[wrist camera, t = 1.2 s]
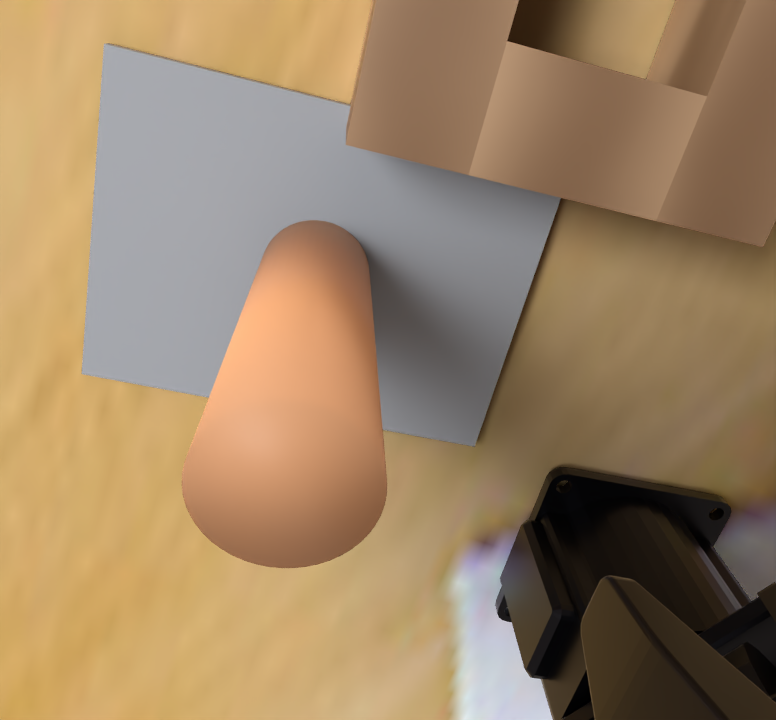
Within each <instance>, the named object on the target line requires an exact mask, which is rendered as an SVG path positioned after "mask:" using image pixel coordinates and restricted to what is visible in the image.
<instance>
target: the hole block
mask: <svg viewBox="0 0 776 720" xmlns="http://www.w3.org/2000/svg"><path fill="white" fill-rule="evenodd" d="M518 2H519V0H372V5H371V10H370V14H369V19H368V24H367V29H366V33H365V38H364V43H363V48H362V52H361V57H360V62H359V67H358V71H357V76H356V81H355V86H354V91H353V95H352V100H351V107H350V111H349V116H348V121H347V126H346V145H348V146H352V147H356V148H360V149H364V150H368V151H372V152H376V153H380V154H384V155H388V156H393V157H397V158H401V159H405V160H409V161H413V162H417V163H421V164H425V165H429V166H433V167H437V168H442V169H446V170H450V171H454V172H458V173H462V174H466V175H470V176H474V177H478V178H482V179H486V180H490V181H495V182H499V183H503V184H507V185H511V186H515V187H519V188H523V189H527V190H531V191H535V192H539V193H543V194H548V195H552V196H556V197H560V198H564V199H568V200H572V201H576V202H580V203H584V204H588V205H592V206H597V207H601V208H605V209H609V210H613V211H617V212H621V213H625V214H629V215H633V216H637V217H641V218H645V219H650V220H654V221H658V222H662V223H666V224H670V225H674V226H678V227H682V228H686V229H690V230H694V231H698V232H703V233H707V234H711V235H715V236H719V237H723V238H727V239H731V240H735V241H739V242H743V243H747V244H752V245H756V246H760V247H763V246H764V244H765V242H766V240H767V238H768V236H769V234H770V232H771V230H772V228H773V226H774V224H775V221H776V0H675V3H674V6H673V8H672V11H671V14H670V16H669V19H668V22H667V24H666V27H665V30H664V32H663V35H662V38H661V41H660V43H659V46H658V49H657V51H656V54H655V57H654V59H653V62H652V65H651V67H650V70H649V73H648V75H647V78H646V79H642V78H639V77H635V76H631V75H628V74H624V73H621V72H617V71H613V70H610V69H606V68H602V67H599V66H595V65H592V64H588V63H584V62H581V61H577V60H574V59H570V58H566V57H563V56H559V55H556V54H552V53H548V52H545V51H541V50H538V49H534V48H530V47H527V46H523V45H520V44H516V43H512V42H509V41H507V40H508V36H509V33H510V30H511V26H512V23H513V19H514V16H515V12H516V9H517V5H518Z"/></svg>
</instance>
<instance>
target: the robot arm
mask: <svg viewBox="0 0 776 720" xmlns="http://www.w3.org/2000/svg"><path fill="white" fill-rule="evenodd" d="M564 480H567V481H568V482H567V483H566V484H565V485H563V486H557V484H558V483H559V482H561V481H564ZM715 508H717V510H716V511H714V512H712V513H710V512H711V511H712V510H713V509H715ZM730 514H731V508H730V506H729V505H728V504H727V503H726V501H725V500H724V499H723V498H722V497H721V496H718V495H714V494H708V493H703V492H697V491H692V490H686V489H681V488H676V487H670V486H665V485H659V484H654V483H649V482H643V481H638V480H632V479H627V478H621V477H616V476H611V475H605V474H600V473H594V472H589V471H583V470H578V469H573V468H567V467H559V468H556V469H554V470H552V471H551V472H550V473H549V474H548V475H547V477H546V479H545V482H544V484H543V487H542V489H541V492H540V494H539V497H538V499H537V501H536V504H535V506H534V509H533V511H532V514H531V516H530V519H529V520H527V521H526V522H525V523H523V524H522V525H521V527H520V530H519V532H518V535H517V537H516V540H515V542H514V545H513V547H512V550H511V552H510V555H509V557H508V560H507V562H506V565H505V567H504V570H503V572H502V575H501V577H500V581H501V584H502V587H501V590H500V592H499V595H498V597H497V600H496V604H495V605H496V609H497V613H498V616H499V618H501V619H502V620H504V621H507V622H512V624H513V628H514V632H515V635H516V639H517V643H518V646H519V650H520V654H521V657H522V661H523V664H524V668H525V670H526V671H527V673H528V674H529V676H530V677H532V678H539V679H541V681H542V684H543V688H544V691H545V695H546V698H547V701H548V705H549V708H550V711H551V715H552V718H553V720H776V583H775V582H774V583H773V584H771V585H770V586H768V587H766V588H765V589H763V590H761V591H760V592H758V593H757V594H758V596H759V597H758V598H756V599H755V600H753V601H751V600H750V599H749V597H748V596H747V594H746V593H745V592H744V590H743V589H742V587H741V586H740V584H739V583H738V582H737V580H736V579H735V577H734V576H733V574H732V573H731V572H730V570H729V569H728V567H727V566H726V565H725V563H724V562H723V560H722V559H721V557H720V556H719V555H718V553H717V552H716V550H715V549H714V547H713V546H714V544H715V542H716V541H717V539H718V537H719V535H720V533H721V532H722V530H723V528H724V526H725V524H726V523H727V521H728V519H729V517H730ZM507 607H508V608H507Z"/></svg>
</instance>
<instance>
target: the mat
mask: <svg viewBox="0 0 776 720" xmlns="http://www.w3.org/2000/svg"><path fill="white" fill-rule="evenodd" d="M350 107H351V105H350V104H346V103H342V102H338V101H334V100H330V99H326V98H322V97H318V96H314V95H310V94H306V93H302V92H298V91H295V90H291V89H287V88H283V87H279V86H275V85H271V84H267V83H263V82H259V81H255V80H251V79H247V78H243V77H239V76H236V75H232V74H228V73H224V72H220V71H216V70H212V69H208V68H204V67H200V66H196V65H192V64H188V63H184V62H180V61H176V60H173V59H169V58H165V57H161V56H157V55H153V54H149V53H145V52H141V51H137V50H133V49H129V48H125V47H121V46H117V45H114V44H110V43H108V44H104V53H103V67H102V82H101V97H100V112H99V127H98V141H97V156H96V171H95V186H94V200H93V215H92V230H91V245H90V260H89V274H88V289H87V304H86V319H85V334H84V348H83V363H82V374H84V375H90V376H95V377H101V378H106V379H111V380H117V381H122V382H128V383H133V384H138V385H144V386H149V387H155V388H160V389H165V390H171V391H176V392H182V393H187V394H192V395H198V396H203V397H209V396H210V393H211V391H212V388H213V386H214V383H215V380H216V378H217V375H218V372H219V370H220V367H221V365H222V362H223V359H224V357H225V354H226V351H227V349H228V346H229V344H230V341H231V338H232V336H233V333H234V330H235V328H236V325H237V323H238V320H239V317H240V315H241V312H242V309H243V307H244V304H245V302H246V299H247V296H248V294H249V291H250V288H251V286H252V283H253V281H254V278H255V275H256V273H257V270H258V267H259V265H260V262H261V259H262V257H263V254H264V252H265V249H266V248H267V246H268V244H269V242H270V241H271V240H272V239H273V237H274V236H275V235H277V234H278V233H279V232H280V231H281V230H283V229H284V228H286V227H288V226H290V225H292V224H295V223H297V222H301V221H308V220H320V221H326V222H330V223H333V224H335V225H338V226H340V227H342V228H343V229H345V230H347V231H348V232H349V233H350V234H352V235H353V236H354V237H355V238H356V239H357V241H358V242H359V243H360V245H361V246H362V248H363V250H364V252H365V254H366V257H367V260H368V264H369V272H370V284H371V296H372V308H373V320H374V332H375V344H376V356H377V368H378V380H379V392H380V404H381V416H382V428H383V430H387V431H392V432H398V433H403V434H408V435H414V436H419V437H425V438H430V439H435V440H441V441H446V442H452V443H457V444H462V445H468V446H473V447H475V444H476V441H477V438H478V435H479V432H480V429H481V427H482V424H483V421H484V418H485V415H486V412H487V409H488V406H489V404H490V401H491V398H492V395H493V392H494V389H495V386H496V383H497V381H498V378H499V375H500V372H501V369H502V366H503V363H504V360H505V358H506V355H507V352H508V349H509V346H510V343H511V340H512V337H513V335H514V332H515V329H516V326H517V323H518V320H519V317H520V314H521V312H522V309H523V306H524V303H525V300H526V297H527V294H528V291H529V289H530V286H531V283H532V280H533V277H534V274H535V271H536V268H537V266H538V263H539V260H540V257H541V254H542V251H543V248H544V245H545V243H546V240H547V237H548V234H549V231H550V228H551V225H552V222H553V220H554V217H555V214H556V211H557V208H558V205H559V202H560V199H561V198H560V197H556V196H552V195H548V194H543V193H539V192H535V191H531V190H527V189H523V188H519V187H515V186H511V185H507V184H503V183H499V182H495V181H490V180H486V179H482V178H478V177H474V176H470V175H466V174H462V173H458V172H454V171H450V170H446V169H442V168H437V167H433V166H429V165H425V164H421V163H417V162H413V161H409V160H405V159H401V158H397V157H393V156H388V155H384V154H380V153H376V152H372V151H368V150H364V149H360V148H356V147H352V146H348V145H346V126H347V121H348V116H349V111H350Z"/></svg>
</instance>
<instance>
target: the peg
mask: <svg viewBox="0 0 776 720" xmlns="http://www.w3.org/2000/svg"><path fill="white" fill-rule="evenodd" d="M182 491H183V497H184V501H185V504H186V507H187V509H188V512H189V514H190V516H191V518H192V519H193V521H194V522H195V524H196V525H197V527H198V528H199V529H200V530H201V532H202V533H203V534H204V535H205V536H206V537H207V538H208V539H209V540H210V541H211V542H213V543H214V544H215V545H217V546H218V547H219V548H221V549H222V550H224V551H226V552H227V553H229V554H231V555H233V556H235V557H237V558H240V559H242V560H244V561H248V562H251V563H254V564H258V565H263V566H267V567H276V568H298V567H307V566H312V565H317V564H320V563H323V562H327V561H330V560H332V559H334V558H336V557H339V556H341V555H343V554H344V553H346V552H348V551H349V550H351V549H352V548H354V547H355V546H356V545H358V544H359V543H360V542H361V541H362V540H363V539H364V538H365V537H366V536H367V535H368V534H369V533H370V532H371V530H372V529H373V528H374V526H375V525H376V523H377V521H378V520H379V518H380V516H381V513H382V511H383V508H384V505H385V501H386V496H387V476H386V464H385V452H384V440H383V428H382V416H381V404H380V392H379V380H378V368H377V356H376V344H375V332H374V320H373V308H372V296H371V284H370V272H369V264H368V260H367V257H366V254H365V252H364V250H363V248H362V246H361V245H360V243H359V242H358V241H357V239H356V238H355V237H354V236H353V235H352V234H350V233H349V232H348V231H347V230H345V229H343V228H342V227H340V226H338V225H335V224H333V223H330V222H326V221H320V220H308V221H301V222H297V223H295V224H292V225H290V226H288V227H286V228H284V229H283V230H281V231H280V232H279V233H278V234H277V235H275V236H274V237H273V239H272V240H271V241H270V242H269V244H268V246H267V248H266V249H265V252H264V254H263V257H262V259H261V262H260V265H259V267H258V270H257V273H256V275H255V278H254V281H253V283H252V286H251V288H250V291H249V294H248V296H247V299H246V302H245V304H244V307H243V309H242V312H241V315H240V317H239V320H238V323H237V325H236V328H235V330H234V333H233V336H232V338H231V341H230V344H229V346H228V349H227V351H226V354H225V357H224V359H223V362H222V365H221V367H220V370H219V372H218V375H217V378H216V380H215V383H214V386H213V388H212V391H211V393H210V396H209V399H208V401H207V404H206V407H205V409H204V412H203V415H202V417H201V420H200V422H199V425H198V428H197V430H196V433H195V436H194V438H193V441H192V443H191V446H190V449H189V451H188V454H187V457H186V459H185V462H184V467H183V471H182Z"/></svg>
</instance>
